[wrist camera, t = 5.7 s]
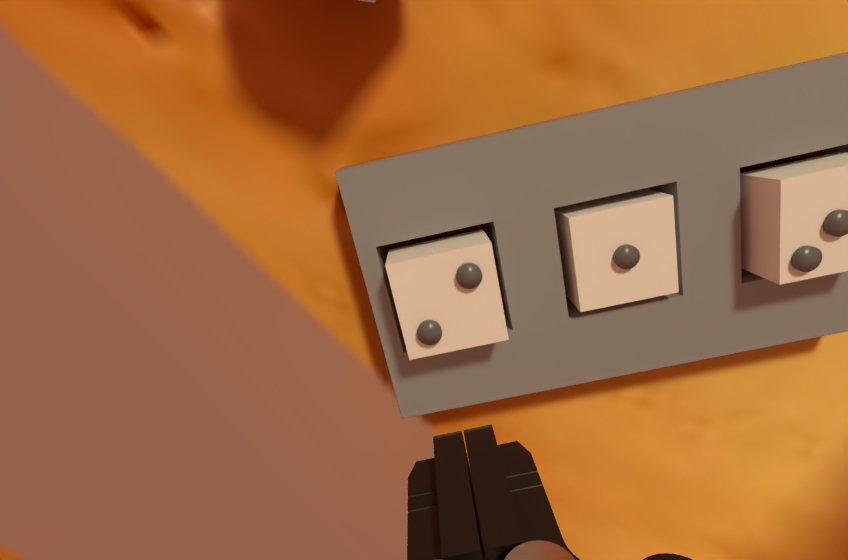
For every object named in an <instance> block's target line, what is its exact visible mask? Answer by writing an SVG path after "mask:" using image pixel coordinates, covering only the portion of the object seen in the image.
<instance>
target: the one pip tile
mask: <svg viewBox="0 0 848 560" xmlns="http://www.w3.org/2000/svg"><path fill="white" fill-rule="evenodd" d="M554 213H555V220H556V228H557V235H558V242H559V250H560V257H561V264H562V272H563V279H564V287H565V294H566V296H567V297H568V299H569V300H570V301H571V302H572V303H573V304H574V305H575V306H576V308H577V309H578V310H579V311H580V312H585V311H590V310H594V309H599V308H604V307H609V306H614V305H619V304H624V303H629V302H634V301H638V300H643V299H648V298H653V297H658V296H663V295H668V294H673V293H677V292H679V288H678V271H677V253H676V236H675V219H674V201H673V195H670V194H666V193H662V192H658V191H654V190H650V189H647V188H644V189H640V190H635V191H631V192H626V193H621V194H617V195H612V196H608V197H603V198H598V199H594V200H589V201H585V202H580V203H576V204H571V205H566V206H562V207H557V208H554Z"/></svg>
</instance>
